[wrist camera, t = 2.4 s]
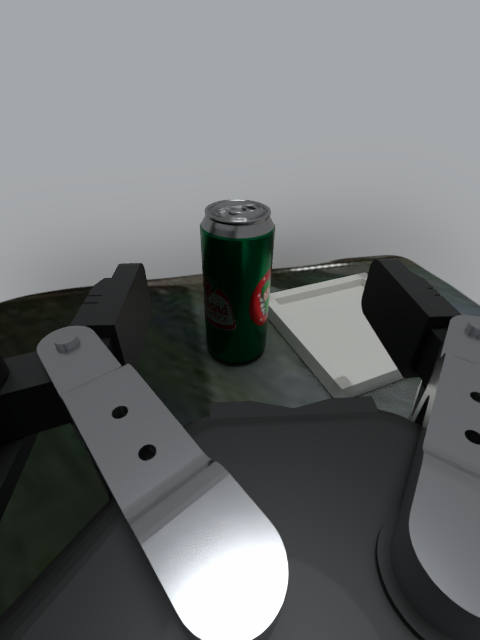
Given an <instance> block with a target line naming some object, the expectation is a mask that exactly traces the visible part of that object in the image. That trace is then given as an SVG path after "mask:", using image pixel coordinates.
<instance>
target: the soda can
mask: <svg viewBox="0 0 480 640" xmlns="http://www.w3.org/2000/svg"><path fill="white" fill-rule="evenodd" d="M270 214H271V211H270V208H269V207H267V206H266V205H264V204H262V203H259V202H255V201H250V200H223V201H218V202H215V203H212V204H210V205H208V206H207V207H206V208H205V217H204V219H203V221H202V222H201V224H200V234H201V252H202V270H203V287H204V305H205V322H206V340H207V347H208V349H209V351H210V352H211V353H212V354H213V355H214V356H216V357H217V358H219V359H220V360H223V361H225V362H229V363H243V362H247V361H250V360H252V359H254V358H255V357H257V356H258V355H259V354H260V353H261V352H262V351H263V350H264V347H265V342H266V330H267V319H268V307H269V295H270V283H271V271H272V259H273V248H274V236H275V225H274V223H273V222H272V219H271V217H270Z"/></svg>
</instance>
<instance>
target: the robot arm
mask: <svg viewBox="0 0 480 640" xmlns="http://www.w3.org/2000/svg"><path fill="white" fill-rule="evenodd" d="M361 307H362V312H363V314H364V316H365V317H366V319H367V321H368V322H369V324H370V325H371V327H372V329H373V330H374V332H375V333H376V335H377V337H378V338H379V340H380V341H381V343H382V345H383V346H384V348H385V349H386V351H387V353H388V354H389V356H390V357H391V359H392V361H393V362H394V364H395V365H396V367H397V369H398V370H399V372H400V373H401V375H402V377H403V378H412V377H420V378H421V379H422V381H421V383H420V385H419V387H418V390H417V393H416V396H415V399H414V403H413V406H412V409H411V412H410V415H409V419H407V418H405V417H402V416H400V415H397V414H394V413H391V412H388V411H384V410H379V409H377V407H376V405H375V402H374V400H373V398H372V396H369V397H344V398H331V399H327V400H323V401H320V402H316V403H312V404H309V405H305V406H301V407H298V408H288V407H282V406H276V405H270V404H264V403H258V402H252V401H244V402H219V403H210V415H209V416H206V417H203V418H200V419H197V420H195V421H193V422H191V423H189V424H187V425H185V426H183V427H182V426H181V424H180V423H179V422H178V421H177V420H176V418H175V417H174V416H173V415H172V414H171V412H170V411H169V410H168V409H167V408H166V406H165V405H164V404H163V403H162V402H161V400H160V399H159V398H158V397H157V396H156V394H155V393H154V392H153V391H152V390H151V388H150V387H149V386H148V385H147V384H146V382H145V381H144V380H143V379H142V378H141V376H140V375H139V374H138V373H137V372H136V370H137V366H138V363H139V359H140V355H141V352H142V348H143V345H144V341H145V337H146V334H147V330H148V327H149V323H150V319H151V301H150V296H149V290H148V285H147V279H146V275H145V269H144V266H143V264H142V263H129V264H119V265H118V267H117V268H116V270H115V272H114V274H113V276H112V278H104V279H103V280H101V281H100V282H99V283H97V284H96V285H94V286H93V288H92V289H91V291H90V293H89V294H88V297H87V298H86V299H85V301H84V304H82V306H81V308H80V309H79V311H78V313H77V314H76V316H75V317H74V319H73V321H72V322H71V324H70V326H69V327H65V328H61V329H58V330H56V331H54V332H52V333H50V334H49V335H47V336H46V337H44V338H43V339H42V340H41V341H40V343H39V344H38V347H37V351H35V352H31V353H27V354H23V355H18V356H14V357H10V358H5V359H3V357H2V355H1V353H0V521H1V518H2V516H3V514H4V511H5V509H6V507H7V504H8V502H9V500H10V498H11V495H12V493H13V491H14V488H15V486H16V484H17V482H18V479H19V477H20V475H21V472H22V470H23V468H24V465H25V463H26V461H27V459H28V456H29V454H30V452H31V449H32V447H33V445H34V442H35V440H36V438H37V436H38V433H39V432H42V431H45V430H48V429H52V428H55V427H58V426H62V425H65V424H68V423H71V424H72V426H73V428H74V430H75V432H76V434H77V436H78V438H79V440H80V442H81V444H82V446H83V448H84V450H85V452H86V453H87V455H88V457H89V459H90V461H91V463H92V465H93V467H94V469H95V471H96V473H97V475H98V477H99V479H100V481H101V483H102V485H103V487H104V489H105V491H106V493H107V495H108V497H109V499H110V500H109V501H108V502H107V503H106V504H105V505H104V507H103V508H102V509H101V510H100V511H99V512H98V513H97V514H96V515H95V516H94V517H93V518H92V519H91V520H90V521H89V523H88V524H87V525H86V526H85V527H84V528H83V529H82V530H81V531H80V532H79V533H78V534H77V535H76V536H75V537H74V539H73V540H72V541H71V542H70V543H69V544H68V545H67V546H66V547H65V548H64V549H63V550H62V551H61V552H60V553H59V555H58V556H57V557H56V558H55V559H54V560H53V561H52V562H51V563H50V564H49V565H48V566H47V567H46V568H45V569H44V571H43V572H42V573H41V574H40V575H39V576H38V577H37V578H36V579H35V580H34V581H33V582H32V583H31V584H30V585H29V587H28V588H27V589H26V590H25V591H24V592H23V593H22V594H21V595H20V596H19V597H18V598H17V599H16V600H15V601H14V603H13V604H12V605H11V606H10V607H9V608H8V609H7V610H6V611H5V612H4V613H3V614H2V616H1V617H0V640H480V317H477V316H471V315H461V314H460V313H459V312H458V311H457V310H456V309H455V308H454V307H453V306H452V305H451V304H450V303H449V302H448V301H447V300H446V299H445V298H444V297H443V296H440V294H439V293H438V292H437V291H436V290H435V289H433V287H432V286H431V285H430V284H429V283H428V282H427V281H426V280H425V279H423V278H421V277H419V276H417V275H416V274H414V273H412V272H410V271H409V270H408V269H407V268H406V267H405V266H404V265H403V264H402V263H401V262H400V261H399V260H398V259H375V260H373V262H372V263H371V265H370V269H369V272H368V276H367V280H366V284H365V287H364V291H363V295H362V300H361Z"/></svg>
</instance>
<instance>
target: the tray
mask: <svg viewBox="0 0 480 640" xmlns="http://www.w3.org/2000/svg"><path fill="white" fill-rule="evenodd" d="M367 276H368V274H366V273H361V274H356V275H352V276H347V277H343V278H338V279H334V280H329V281H325V282H320V283H316V284H311V285H307V286H302V287H298V288H294V289H289V290H285V291H280V292H276V293H271V294H270V295H269V307H268V319H269V320H270V321H271V323H272V324H273V325H274V326H275V327H276V329H277V330H278V331H279V332H280V333H281V335H282V336H283V337H284V338H285V340H286V341H287V342H288V343H289V344H290V346H291V347H292V348H293V349H294V350H295V352H296V353H297V354H298V355H299V356H300V358H301V359H302V360H303V361H304V363H305V364H306V365H307V366H308V367H309V369H310V370H311V371H312V372H313V373H314V375H315V376H316V377H317V378H318V380H319V381H320V382H321V383H322V384H323V386H324V387H325V388H326V389H327V390H328V392H329V393H330V394H331V395H332V396H333V398H344V397H355V396H358V395H361V394H363V393H366V392H369V391H371V390H374V389H377V388H379V387H382V386H385V385H388V384H390V383H393V382H396V381H398V380H401V379H404V378H403V377H402V375H401V373H400V372H399V370H398V369H397V367H396V365H395V364H394V362H393V361H392V359H391V357H390V356H389V354H388V353H387V351H386V349H385V348H384V346H383V345H382V343H381V341H380V340H379V338H378V337H377V335H376V333H375V332H374V330H373V329H372V327H371V325H370V324H369V322H368V321H367V319H366V317H365V316H364V314H363V312H362V307H361V300H362V295H363V291H364V287H365V284H366V280H367Z"/></svg>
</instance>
